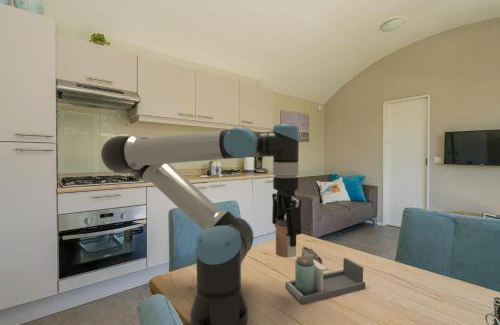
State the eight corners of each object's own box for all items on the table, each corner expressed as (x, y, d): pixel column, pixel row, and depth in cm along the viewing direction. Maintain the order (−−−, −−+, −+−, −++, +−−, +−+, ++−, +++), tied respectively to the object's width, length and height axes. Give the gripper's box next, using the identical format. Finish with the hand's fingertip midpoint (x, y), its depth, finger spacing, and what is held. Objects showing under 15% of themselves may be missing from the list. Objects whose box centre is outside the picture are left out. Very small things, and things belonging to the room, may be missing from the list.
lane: (302, 304, 74) (302, 282, 73) (285, 287, 83) (285, 267, 83) (365, 288, 82) (365, 268, 82) (343, 274, 92) (343, 256, 91)
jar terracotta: (299, 255, 75) (299, 222, 75) (281, 258, 73) (281, 224, 72) (289, 248, 81) (289, 217, 80) (272, 251, 78) (272, 219, 78)
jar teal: (302, 298, 76) (302, 265, 75) (291, 288, 81) (291, 257, 81) (318, 293, 78) (318, 262, 78) (307, 284, 84) (307, 254, 83)
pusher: (320, 294, 77) (321, 269, 77) (307, 282, 84) (307, 260, 84) (327, 292, 78) (327, 268, 78) (313, 281, 85) (313, 259, 85)
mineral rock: (323, 273, 93) (323, 261, 93) (301, 271, 95) (301, 259, 95) (320, 257, 108) (320, 246, 108) (301, 255, 109) (301, 245, 109)
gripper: (315, 178, 68) (314, 262, 69) (281, 173, 86) (281, 240, 87) (291, 180, 66) (290, 267, 66) (261, 174, 83) (261, 243, 84)
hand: (285, 252), depth 77 cm, fingers closed on jar terracotta, 6 cm apart
